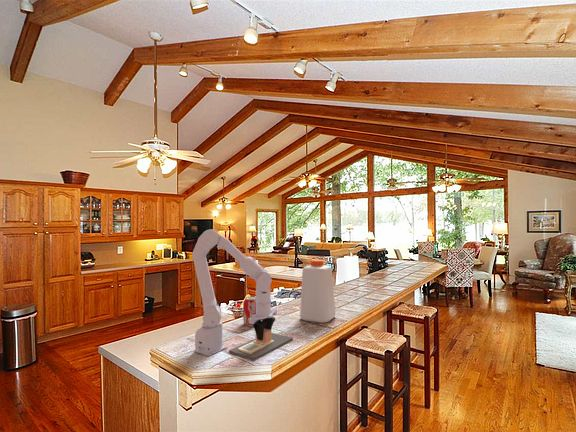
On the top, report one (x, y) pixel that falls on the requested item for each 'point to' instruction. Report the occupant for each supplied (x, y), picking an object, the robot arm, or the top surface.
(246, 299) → the soda can
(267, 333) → the stub
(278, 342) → the mat
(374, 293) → the top surface
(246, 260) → the robot arm
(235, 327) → the top surface
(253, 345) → the photo frame
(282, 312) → the top surface
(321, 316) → the plastic bottle
